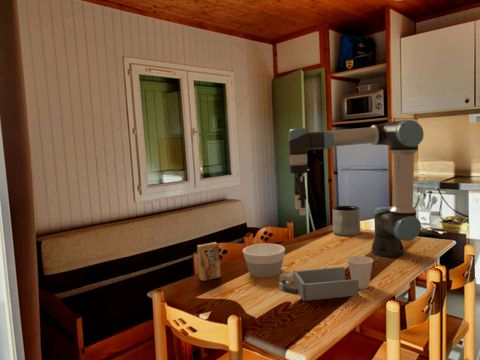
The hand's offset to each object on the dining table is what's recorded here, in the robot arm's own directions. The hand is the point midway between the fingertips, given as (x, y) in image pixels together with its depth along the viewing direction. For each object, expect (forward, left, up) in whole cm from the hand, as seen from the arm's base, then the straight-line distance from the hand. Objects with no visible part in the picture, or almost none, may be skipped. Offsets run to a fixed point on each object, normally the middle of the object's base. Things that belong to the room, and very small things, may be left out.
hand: (300, 212), depth 171 cm
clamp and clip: (+11, +13, -27) cm, 32 cm away
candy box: (+42, -2, -27) cm, 50 cm away
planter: (-42, -57, -27) cm, 76 cm away
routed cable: (+11, +17, -27) cm, 34 cm away
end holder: (-3, +23, -27) cm, 36 cm away
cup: (-17, +23, -27) cm, 40 cm away
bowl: (+17, -3, -27) cm, 32 cm away
